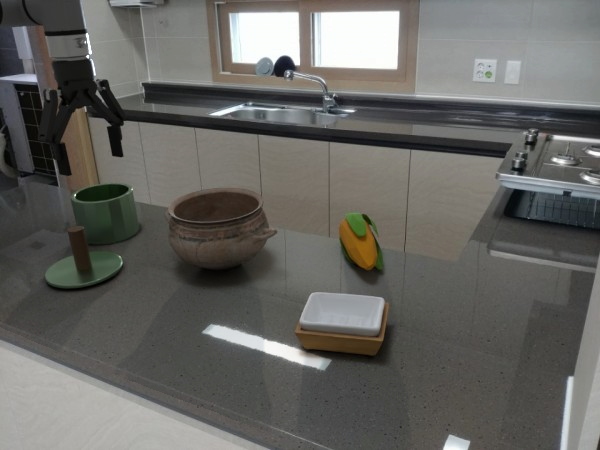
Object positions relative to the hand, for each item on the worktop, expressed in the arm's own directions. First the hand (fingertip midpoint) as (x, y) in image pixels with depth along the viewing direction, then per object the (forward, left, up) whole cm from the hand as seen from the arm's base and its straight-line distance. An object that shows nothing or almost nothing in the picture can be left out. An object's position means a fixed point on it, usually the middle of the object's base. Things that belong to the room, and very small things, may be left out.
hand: (93, 165), depth 111 cm
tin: (-1, +2, -16) cm, 16 cm away
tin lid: (+9, -14, -16) cm, 23 cm away
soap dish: (+62, -13, -16) cm, 65 cm away
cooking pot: (+31, 0, -16) cm, 35 cm away
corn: (+55, +12, -16) cm, 58 cm away
